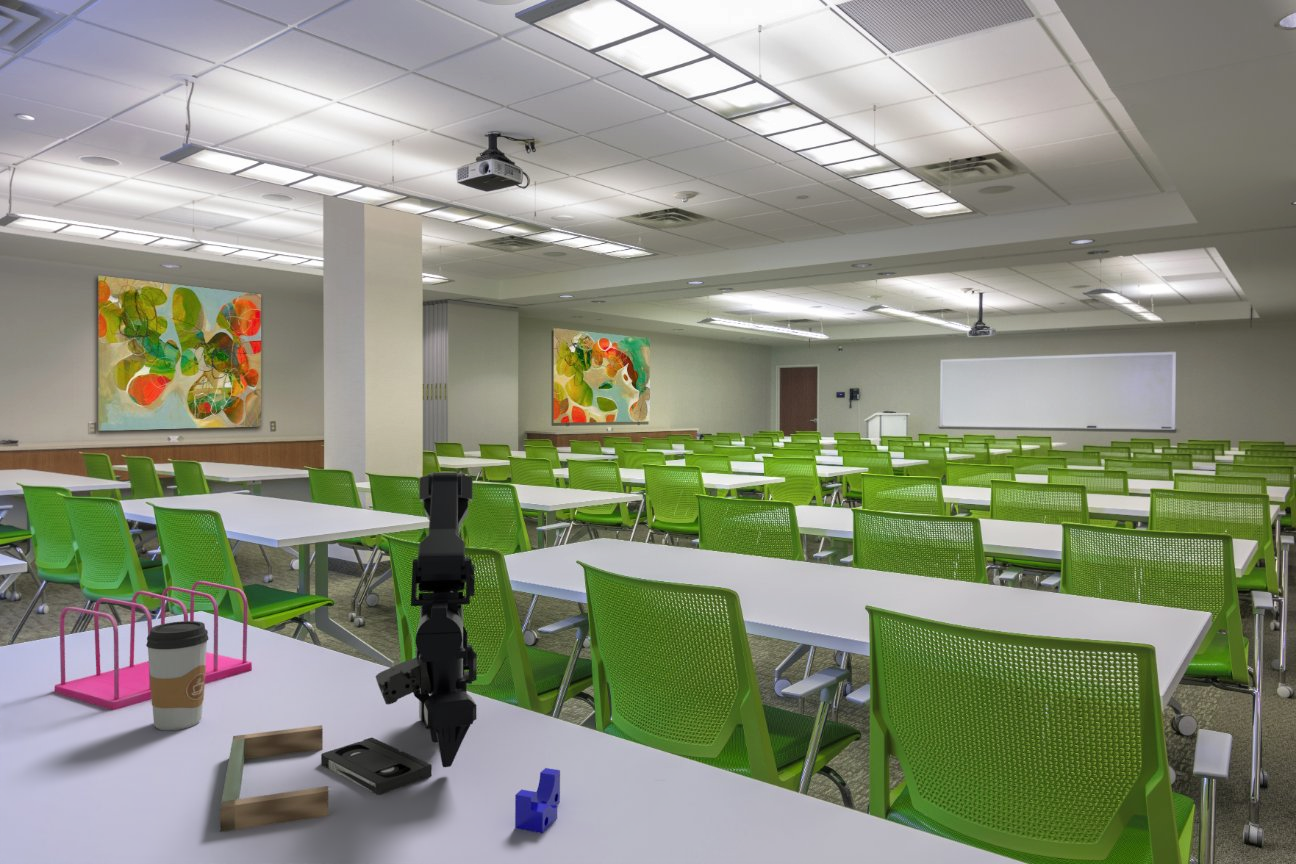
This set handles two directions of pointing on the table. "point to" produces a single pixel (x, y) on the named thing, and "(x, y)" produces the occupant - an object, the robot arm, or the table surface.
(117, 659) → the file sorter
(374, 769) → the vhs tape
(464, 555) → the robot arm
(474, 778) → the table surface
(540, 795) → the cable holder
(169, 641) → the coffee cup
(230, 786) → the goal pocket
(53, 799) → the table surface
